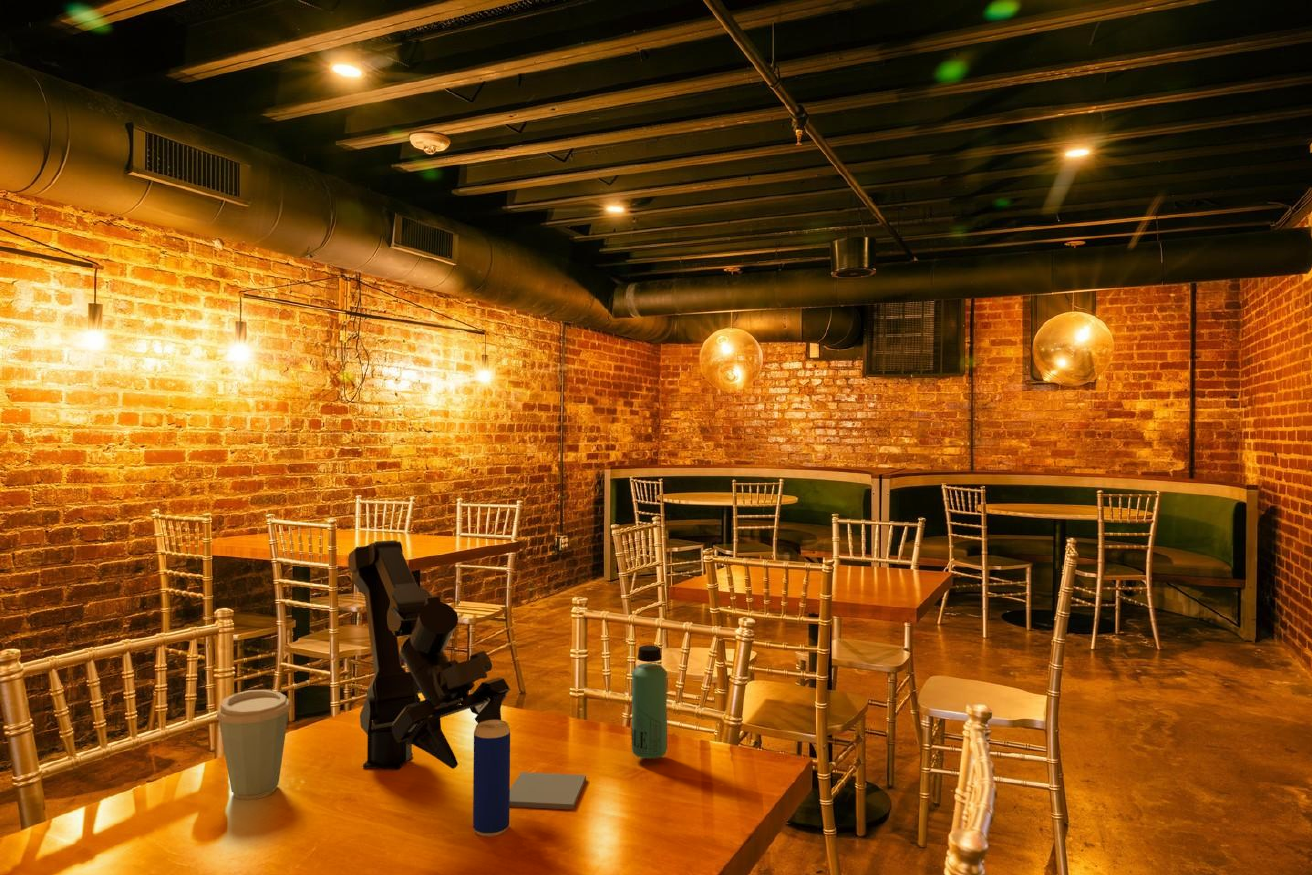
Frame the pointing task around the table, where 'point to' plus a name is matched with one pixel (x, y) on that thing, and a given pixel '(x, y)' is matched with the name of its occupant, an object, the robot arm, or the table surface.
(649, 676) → the beverage bottle
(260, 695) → the disposable coffee cup
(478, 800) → the beverage can
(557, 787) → the coaster
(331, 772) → the table surface
